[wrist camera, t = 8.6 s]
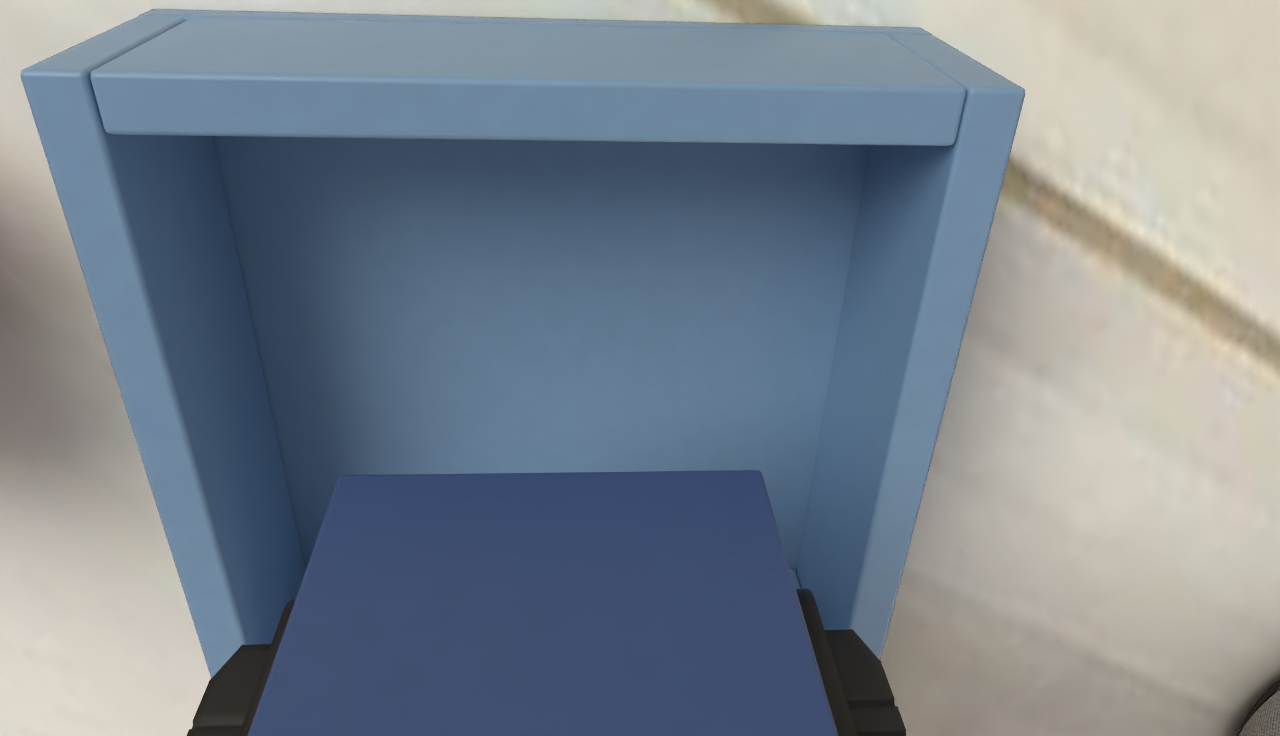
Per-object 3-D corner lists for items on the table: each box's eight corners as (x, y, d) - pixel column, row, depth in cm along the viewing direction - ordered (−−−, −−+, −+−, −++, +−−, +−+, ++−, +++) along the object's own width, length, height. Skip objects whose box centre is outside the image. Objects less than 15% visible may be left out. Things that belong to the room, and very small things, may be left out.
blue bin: (285, 585, 21) (228, 741, 17) (150, 8, 14) (14, 70, 11) (818, 572, 22) (867, 716, 18) (922, 26, 15) (1029, 88, 12)
